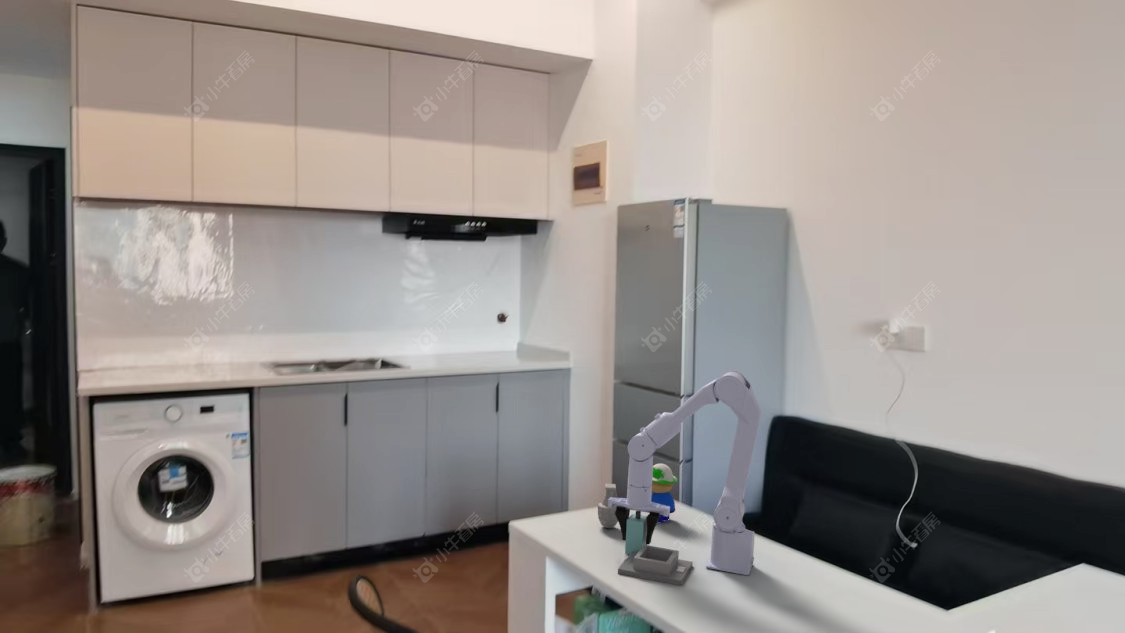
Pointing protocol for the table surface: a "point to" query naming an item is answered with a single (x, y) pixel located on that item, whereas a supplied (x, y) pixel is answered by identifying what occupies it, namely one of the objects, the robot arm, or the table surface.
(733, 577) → the table surface
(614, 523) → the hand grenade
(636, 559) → the socket block
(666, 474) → the toy
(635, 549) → the plug
